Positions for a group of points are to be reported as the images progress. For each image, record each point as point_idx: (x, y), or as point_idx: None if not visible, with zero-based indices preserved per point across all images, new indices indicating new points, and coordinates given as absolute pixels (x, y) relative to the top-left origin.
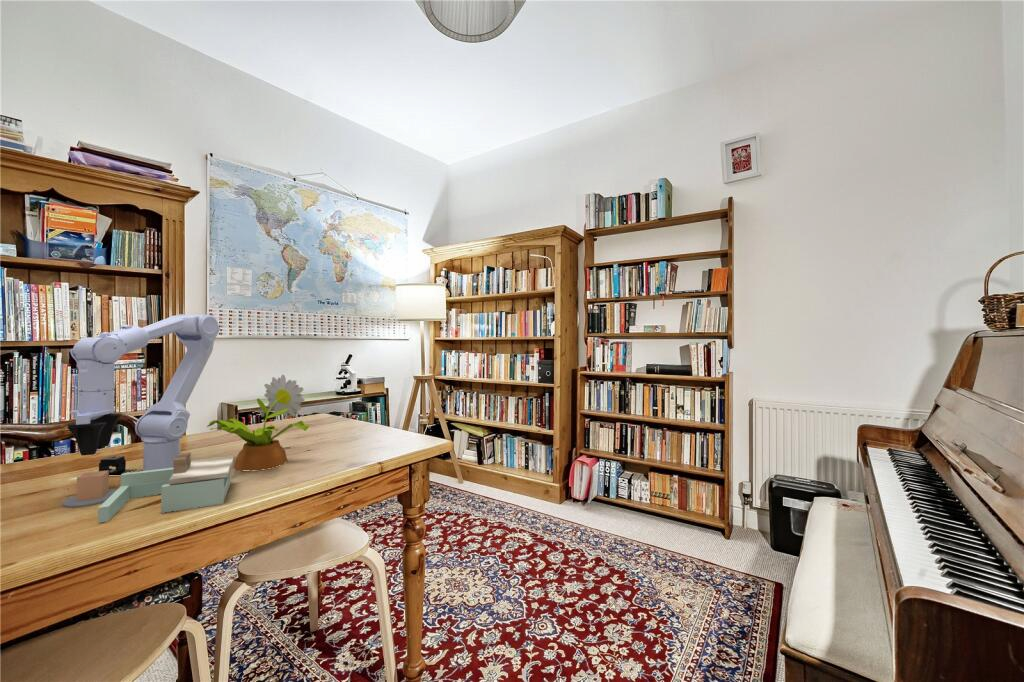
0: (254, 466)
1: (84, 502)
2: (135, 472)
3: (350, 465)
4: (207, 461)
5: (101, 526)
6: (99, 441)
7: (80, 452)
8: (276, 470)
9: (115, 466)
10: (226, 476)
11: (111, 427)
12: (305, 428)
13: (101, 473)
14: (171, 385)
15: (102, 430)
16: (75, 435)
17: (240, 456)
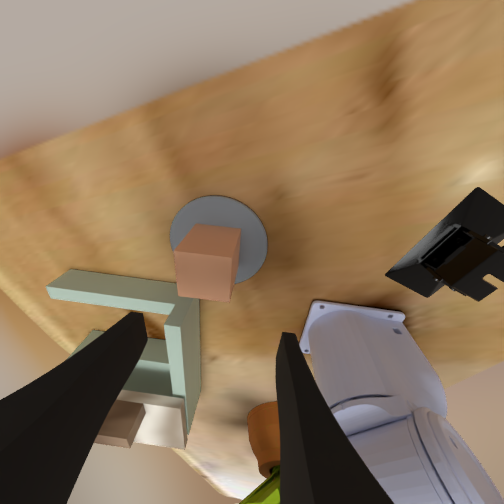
0: (250, 421)
1: (181, 238)
2: (176, 343)
3: (208, 464)
4: (159, 427)
5: (56, 274)
6: (282, 362)
7: (120, 320)
8: (234, 426)
9: (435, 271)
10: None
11: (281, 469)
12: None
13: (201, 293)
14: None
15: (286, 433)
16: (2, 404)
17: (275, 432)
